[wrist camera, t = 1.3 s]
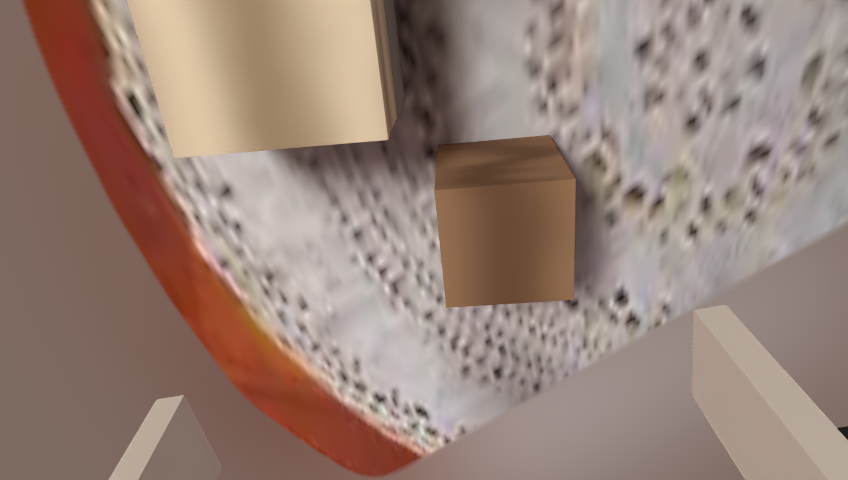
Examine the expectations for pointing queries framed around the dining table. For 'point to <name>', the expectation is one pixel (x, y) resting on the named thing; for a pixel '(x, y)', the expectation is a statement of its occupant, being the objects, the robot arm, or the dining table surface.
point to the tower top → (267, 72)
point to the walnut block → (505, 222)
